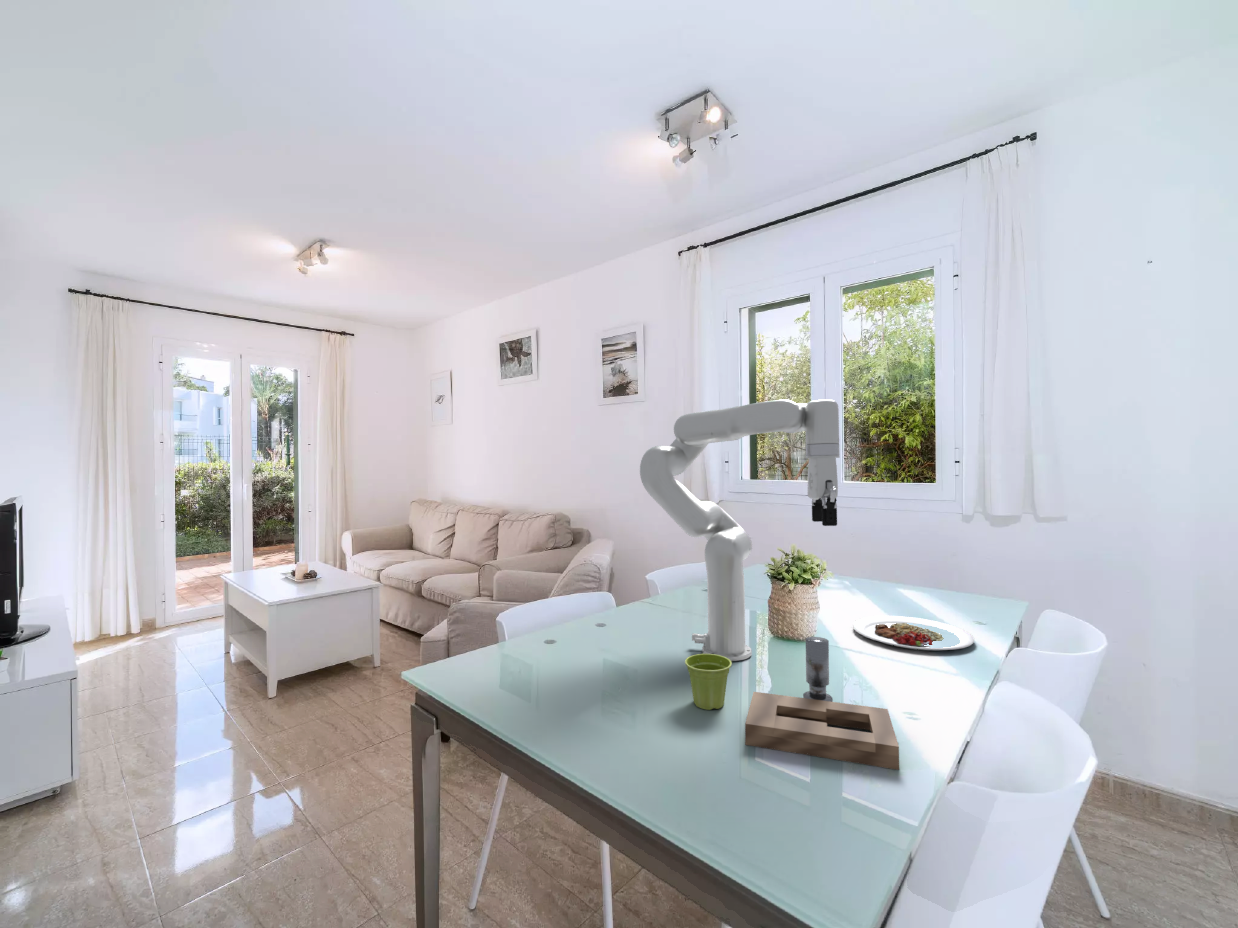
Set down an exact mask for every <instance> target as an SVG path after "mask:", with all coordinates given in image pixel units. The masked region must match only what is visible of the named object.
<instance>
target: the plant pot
mask: <svg viewBox="0 0 1238 928" xmlns="http://www.w3.org/2000/svg"><path fill="white" fill-rule="evenodd" d="M732 662H733V661H730V660H729V659H728V658H726V657H724V656H720V655H716V654H703V653H698V654H694V655H690V656H688V657H687V658H685V660H684V663H685V666H686V667H687V671H688V675H689V678H690V680H689V681H690V686H691V692H692V699H693V700H692V701H693V703H694V705H695V706H696V707H697V708H700V709H702V710H707V711H711V710H713V709H716V710H719V709H721V708H723V707H724V705H725V700H726V690H727V682H728V675H729V673H730V668H731V667H732V665H733V663H732Z"/></svg>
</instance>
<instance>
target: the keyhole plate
mask: <svg viewBox="0 0 1238 928" xmlns="http://www.w3.org/2000/svg"><path fill="white" fill-rule="evenodd" d="M750 700H751V701H750V703H749V707H748V711H747V714H746V715H747V716H746V720H745V723H744V724H745V725H744V729H745V730H744V731H745V732H744V734H745V735H744V736H745V742H744V743H745V744H744V745H745V746H749V747H755V748H756V747H757V748H762V749H768V750H769V749H770V750H775V751H781V752H786V753H793V754H799V755H804V756H806V755H807V756H812V757H818V758H822V759H823V758H824V759H829V760H830V759H831V760H834V761H835V760H836V761H841V762H848V763H852V764H853V763H854V764H860V765H866V766H873V767H878V768H885V769H889V770H890V769H892V770H895V771H896V770H897V771H899V770H900V745H899V742H898V739H897V735H896V733H895V730H894V726H893V723H892V719H891V716H890V713H889V709H888V708H883V707H874V706H868V705H861V704H853V703H852V704H851V703H844V702H837V701H833V702H830V701H822V700H815V699H807V698H803V697H798V696H797V697H796V696H790V695H783V694H775V693H767V692H761V691H753V693H752V696H751V699H750ZM828 725H832V726H837V727H832V726H828ZM840 727H844V728H840ZM845 727H846V728H845ZM847 728H851V729H847ZM854 729H857V730H854ZM858 729H859V730H858ZM860 730H863V731H860ZM865 730H866V731H867V732H866V731H865ZM868 731H870V732H868Z"/></svg>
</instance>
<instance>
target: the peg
mask: <svg viewBox="0 0 1238 928" xmlns="http://www.w3.org/2000/svg"><path fill="white" fill-rule="evenodd" d="M829 644H830V643H829V640H828V639H827V638H825V637H821V636H808V637H805V682H806V683H807V684H809V687H808V688H809V689H808V690H809V691H805V692H804V693H803V695H802V696H803V697H802V698H807V699H815V700H822V701H830V702H834V700H833V697H832V696H831V695H830V694H829V693H827V686H829V685H830V653H829V652H830V648H829V647H830V645H829Z"/></svg>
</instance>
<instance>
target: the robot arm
mask: <svg viewBox="0 0 1238 928" xmlns="http://www.w3.org/2000/svg"><path fill="white" fill-rule="evenodd" d="M839 411H840V410H839V404H838V402H837V401H836V400H833V399H818V400H817V399H816V400H811V401H808V402H807V403H796V402H795V401H793V400H790V399H777V400H776V399H775V400H769V401H768V400H767V401H762V402H761V401H759V402H754V403H749V404H743V405H739V406H733V407H728V408H719V409H713V410H707V411H705V410H704V411H699V412H692V413H685V414H683V415H681V416H680V417H678V418H677V419H676V421H674V424H673V434H674V437H675V438H674V440H673V441H672V442H671V444H670V445H656V446H653V447H650V448H649V449H648V450H646V451H645V453H643V456H642V457H641V460H640V465H639V476H640V480H641V483H642V486H643V488H644V489H645V491H646V492H647V493H648V495H649V496H650V497H651V498H652V499H653V501H655V502H656V503H657V504H658V505H659V506H660V507H661V508H662V509H663V510H664V511H665V512H666V513H667V515H668V516H669V517H670V518H671V519H672V520H673V521H674V522H675V523H676V524H677V525H678V526H679V527H680V528H681V529H682V531H684V533H685V534H687V535H688V536H690V537H691V538H695V539H696V538H702V537H703V538H704V539H706V540H707V542H706V544H705V548H704V562H705V568H706V579H707V580H706V581H707V583H706V585H707V587H706V588H707V589H706V591H707V633H703V634H702V633H701V634H700V633H693V632H692V634H691V641H693V642H694V644H700V645H701V644H703V645H702V651H701V652H702V654H716V655H720V656H724V657H726V658H728V659H729V660H730V661H731V662H738V661H743V660H747V659H749V658H750V657H752V654H753V651H752V648H751V647H750V646H749V645H747V644H746V591H745V587H746V585H745V573H744V566H743V561H745V560H746V559H748V558H749V556H750V555H751V553H752V549H753V544H752V539H751V537H750V535H749V534H748V533H747V531H746V530H745V529H744V528H743V527H742V526H741V525H740V524H739V523H738V522H737V521H736V520H735V519H734V518H733V517H732V516H731V515H730V514H729V513H727V512H726V511H725V509H723V508H722V507H721V506H720V505H719V504H717V503H715V502H713V501H710V500H700V499H698V498H697V497H696V496H695V495H694V494H693V493H692V492H691V491H689V489H688V488H687V487H686V486H685V485H683V484H682V483H681V482H680V481H678V480H677V479H676V478H675V476H679V475H681V474H682V473H685V471H686V470H687V469H688V468H689V467H690V466H691V465H692V464H693V463H694V462H695V461H696V459H697V458H698V457H699V456H700V454H702V452H703V451H704V450H705V449H706V448H707V446H708V445H709V444H715V443H722V442H723V443H724V442H734V441H739V440H740V439H742V438H744V437H748V436H752V435H761V434H767V433H777V432H778V433H779V432H783V433H787V434H795V433H800V432H805V458H806V459H808V466H807V468H808V469H807V497H808V498H809V499H812V500H811V521H812V522H813V523H815V522H817V523H818V522H819V523H820V522H821V524H822V526H823V527H836V526H838V504H837V498H838V492H839V490H838V489H839V486H838V484H839V483H838V465H837V458H840V420H839V418H840V417H839V416H840V415H839Z"/></svg>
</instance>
